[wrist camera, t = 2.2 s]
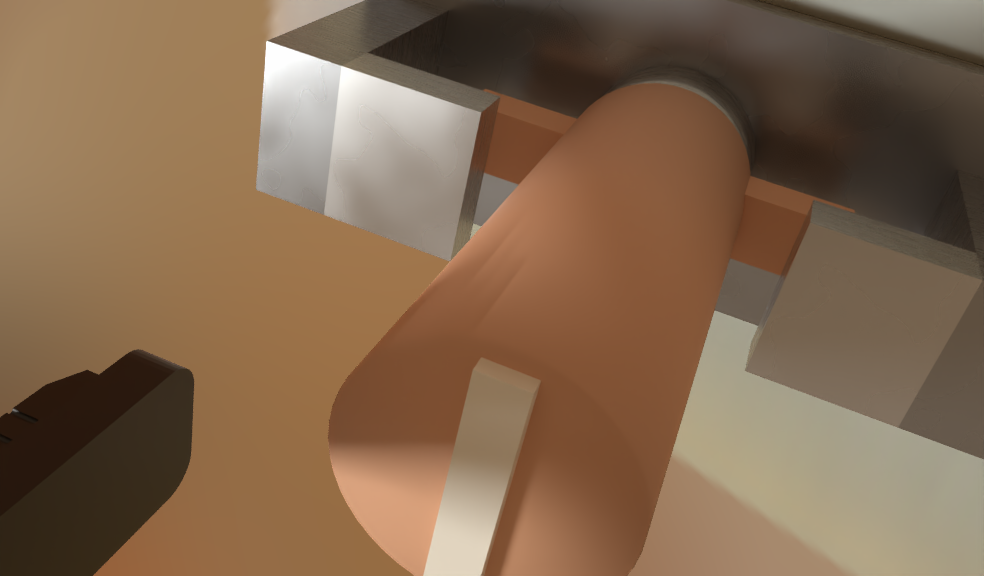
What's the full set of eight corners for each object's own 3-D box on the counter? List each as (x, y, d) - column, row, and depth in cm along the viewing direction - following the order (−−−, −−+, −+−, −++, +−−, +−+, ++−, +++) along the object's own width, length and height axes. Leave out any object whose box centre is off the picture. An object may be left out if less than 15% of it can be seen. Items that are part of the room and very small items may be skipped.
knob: (497, 29, 22) (178, 234, 12) (882, 150, 20) (894, 512, 10) (462, 198, 24) (172, 487, 14) (803, 319, 23) (750, 749, 13)
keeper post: (395, -105, 25) (248, -73, 19) (1104, 101, 21) (1194, 219, 15) (358, 165, 29) (229, 260, 23) (944, 374, 25) (967, 547, 19)
